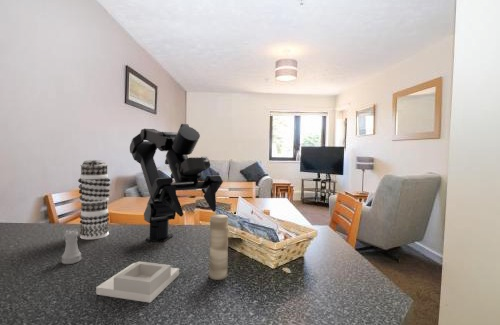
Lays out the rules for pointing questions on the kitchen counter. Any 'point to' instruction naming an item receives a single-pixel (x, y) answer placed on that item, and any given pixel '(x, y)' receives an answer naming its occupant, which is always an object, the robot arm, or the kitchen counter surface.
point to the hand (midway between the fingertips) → (199, 213)
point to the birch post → (218, 247)
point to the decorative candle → (94, 199)
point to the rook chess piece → (71, 248)
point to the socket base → (139, 281)
